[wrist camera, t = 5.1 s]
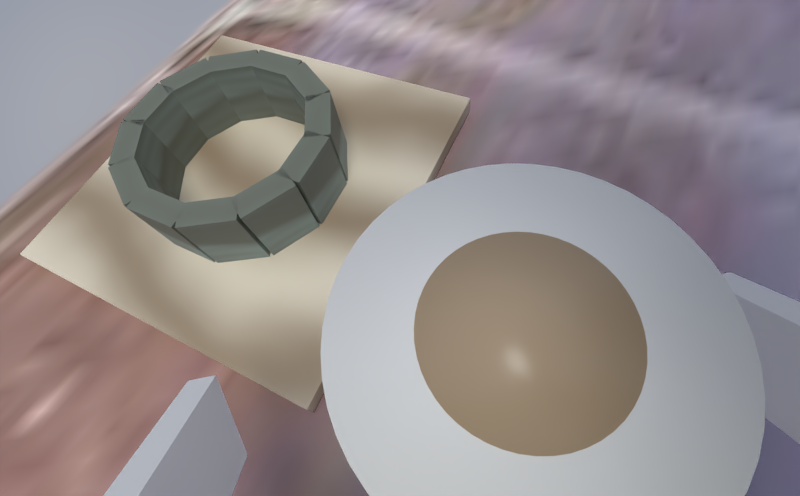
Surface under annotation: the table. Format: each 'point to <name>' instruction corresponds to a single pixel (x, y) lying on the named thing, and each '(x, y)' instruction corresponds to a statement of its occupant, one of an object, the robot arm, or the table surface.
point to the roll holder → (248, 202)
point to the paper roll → (538, 346)
